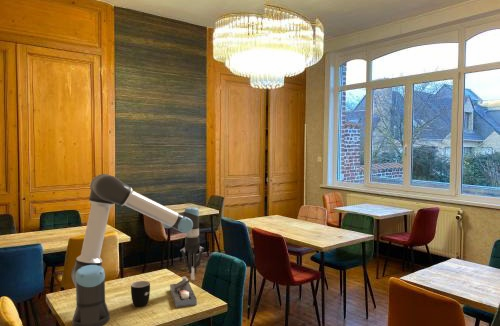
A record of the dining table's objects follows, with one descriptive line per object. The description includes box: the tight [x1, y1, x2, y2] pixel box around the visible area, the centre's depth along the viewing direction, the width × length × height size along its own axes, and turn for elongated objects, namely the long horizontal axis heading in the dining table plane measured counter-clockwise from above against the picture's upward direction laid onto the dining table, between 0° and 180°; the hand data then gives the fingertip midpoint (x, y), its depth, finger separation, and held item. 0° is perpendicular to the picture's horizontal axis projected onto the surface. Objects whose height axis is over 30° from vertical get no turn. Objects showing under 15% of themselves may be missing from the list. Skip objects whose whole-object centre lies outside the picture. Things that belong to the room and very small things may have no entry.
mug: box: [130, 280, 151, 308], centre depth 184 cm, size 12×9×10 cm
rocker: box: [174, 277, 190, 290], centre depth 195 cm, size 8×4×1 cm, turn 108°
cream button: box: [181, 291, 189, 300], centre depth 183 cm, size 4×4×3 cm
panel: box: [169, 282, 198, 308], centre depth 191 cm, size 10×24×5 cm, turn 18°
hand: (192, 279), depth 203 cm, fingers closed
